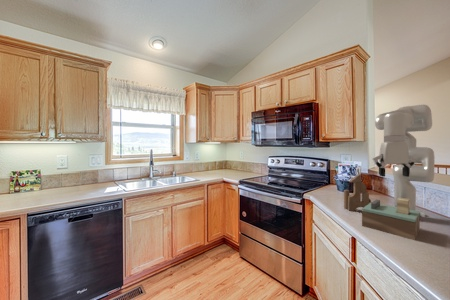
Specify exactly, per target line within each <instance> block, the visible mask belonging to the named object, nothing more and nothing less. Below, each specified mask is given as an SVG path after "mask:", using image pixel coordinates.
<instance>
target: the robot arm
mask: <svg viewBox="0 0 450 300" xmlns="http://www.w3.org/2000/svg"><path fill="white" fill-rule="evenodd" d="M432 114H433V113H432V110H431V108H430V106H429V105H428V104H417V105H407V106H401V107H399V108H397V109H395V110H390V111H389V112H383V113H380V114H379V115H377V116H376V118H375V120H374V126H375V128H376V129H377V130H379V131H383V142H381V144H380V147H379V154H378V155H377V156H375V157H373V158H372V161H373V163H374V165H376V167H377V168H378V174H379V176H380V177H386V168H385V167H386V166H387V165H394V166H393V167H392V176H393V181H394V182H393V183H394V191H393V192H394V194H393V195H394V196H393V198H394V199H393V200H394V201H393V203H394V204H393V207H397V199H398V198H405V199H410V210H415V211H417V210H416V208H417V207H416V205H417V204H416V203H417V201H416V200H417V199H416V198H417V196H416V195H417V188H416V186H415V185H414V184H413V183H412V182H418V183H419V182H420V183H431V182H433V181H434V179H435V158H436V157H435V151H434V150H433V149H432V147H431V148H430V147H427V146H425V147H424V146H422V147H421V146H420V147H419V146H417V138H416V137H415V136H414V135H412V134H411V132H413V133H415V132H427V131H430V130H431V129H432V126H433V115H432ZM416 164H417V165H416ZM418 164H421V165H418Z"/></svg>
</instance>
